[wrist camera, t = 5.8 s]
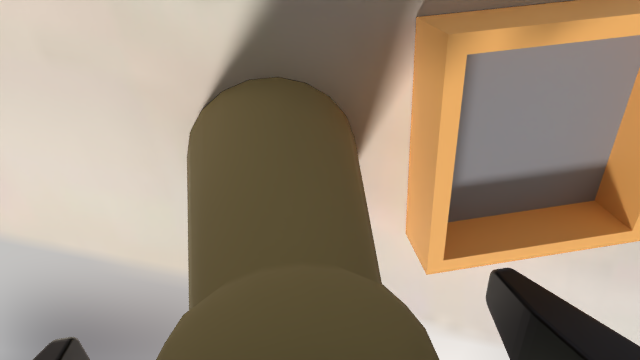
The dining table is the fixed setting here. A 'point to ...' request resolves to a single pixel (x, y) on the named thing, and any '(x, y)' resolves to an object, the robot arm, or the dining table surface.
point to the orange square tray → (524, 133)
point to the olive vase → (283, 237)
